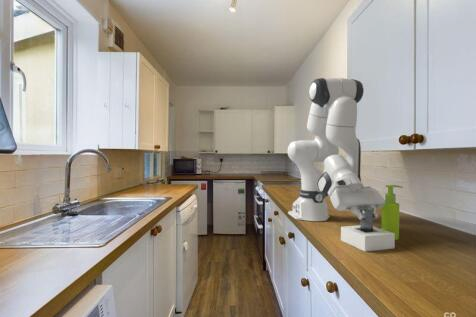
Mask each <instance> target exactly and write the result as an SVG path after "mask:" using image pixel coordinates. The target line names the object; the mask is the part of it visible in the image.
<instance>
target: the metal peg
mask: <svg viewBox="0 0 476 317" xmlns="http://www.w3.org/2000/svg"><path fill="white" fill-rule="evenodd" d="M359 211H360V212H361V213H364V215H365V218H364V219H362V220H360V222H359V225H360V231H363V232H365V233H368V232H373V226H374V219H373V210H369V209H359Z"/></svg>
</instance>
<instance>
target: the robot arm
mask: <svg viewBox="0 0 476 317" xmlns="http://www.w3.org/2000/svg"><path fill="white" fill-rule="evenodd" d="M363 96H364V85H363V83H362V82H361V81H360V80H356V79H355V78H354V79H353V78H352V79H351V78H350V79H348V78H344V77H335V78H334V77H333V78H332V77H331V78H329V77H328V78H327V77H326V78H324V77H321V78H319V77H318V78H316V79H314V80H312V82H311V83H310V85H309V91H308V97H309V100H310V101H311V104H310V107H309V112H308V116H307V122H306V129H307V131H308V132H309V133H310V134H312V135H313V136H314V139H299V140H294V141H290V143H289V145H288V147H287V152H286V153H287V156H288V158H289V160H290V161H291V162H293V163H294V164H295V165H296V166H297V168H298V170H299V174H300V182H301V184H300V186H301V187H300V188H301V189H300V190H298V192H299V195H298V196H299V197H297V199H296V200H294V201H293V203H292V204H291V209H292V210H289V211H288V212H287V214H288V215H289V216H291V218H294V219H295V220H298V221H308V222H325V221H328V219H329V218H330V215H329V213H328V205H327V204H328V203H327V200H326V199H325V198H329V199H330V202H331V204H332V206H333V208H334V209H335V210H337V211H339V212H340V211H350V212H351V214H352V213H353V214H354V216H356V217H357V218H358V220H362V219H364V218H365V215H364V213H361V212H360V209H369V210H373V220H374V219H378V218H379V215H378V213H377V209H382V207H383V206H384V205H385V198H384V197H383V196H382V195H381V193H379V191H378V190H377V189H376V188H373V187H371V186H364V184H363V183H362V179H361V178H362V177H361V161H362V160H361V159H362V158H361V156H362V150H361V149H362V148H361V141H360V140H359V138H357V134H356V128H357V121H358V120H357V119H358V105H357V104H358V103H360V101H361V100H362V98H363ZM339 149H340V150H342V151H344V152H345V155H346V158H345V156H343V155H342V154H339V151H340V150H339ZM314 163H323V167H324V168H323V171H320V170H319V169H317V168H316V167H315V164H314Z"/></svg>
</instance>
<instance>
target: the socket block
mask: <svg viewBox="0 0 476 317" xmlns="http://www.w3.org/2000/svg"><path fill="white" fill-rule="evenodd" d="M340 241H341V242H344V243H346V244H347V245H350V246H353V247H354V248H357V249H358V250H360V251H363V252H372V251H383V250H391V249H395V245H396V244H395V242H396V240H395V233H392V232H389V231H386V230H383V229H381V227H376V226H374V225H373V232H368V233H365V232H363V231H360V224H359V225H347V226H345V225H344V226H341V227H340Z"/></svg>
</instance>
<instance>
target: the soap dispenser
mask: <svg viewBox="0 0 476 317" xmlns="http://www.w3.org/2000/svg"><path fill="white" fill-rule="evenodd" d="M385 188H387V193H385V198H384V199H385V205H384V206H383V207H382V208H381V221H380V222H381V224H380V225H381V226H380V229H383V230H386V231H389V232H392V233H395V241H397V240H400V203H399V202H398V203H397V201H396V195H397V194H395V192H394V188H401V189H403V186H401V185H397V184H387V185H386V184H385Z"/></svg>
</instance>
